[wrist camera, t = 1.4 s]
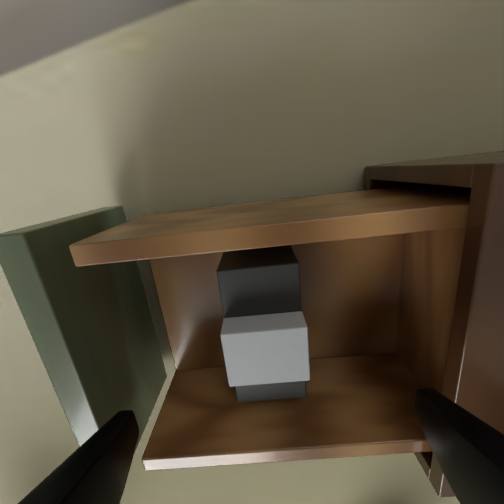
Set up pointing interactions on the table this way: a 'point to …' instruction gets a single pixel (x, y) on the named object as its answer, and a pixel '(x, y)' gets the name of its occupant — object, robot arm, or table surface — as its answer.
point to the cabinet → (467, 286)
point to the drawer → (211, 318)
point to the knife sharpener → (263, 324)
